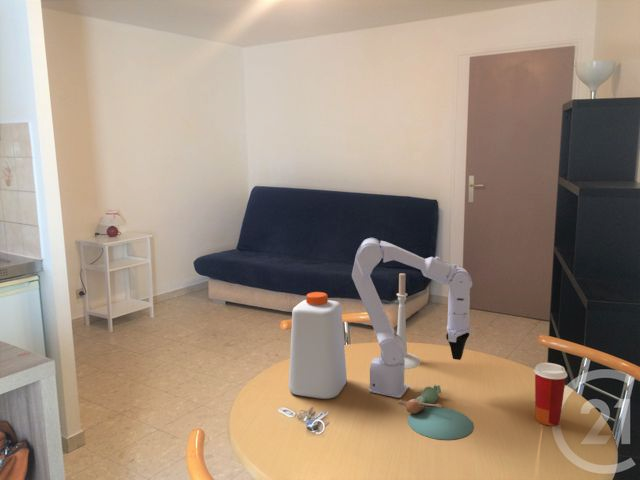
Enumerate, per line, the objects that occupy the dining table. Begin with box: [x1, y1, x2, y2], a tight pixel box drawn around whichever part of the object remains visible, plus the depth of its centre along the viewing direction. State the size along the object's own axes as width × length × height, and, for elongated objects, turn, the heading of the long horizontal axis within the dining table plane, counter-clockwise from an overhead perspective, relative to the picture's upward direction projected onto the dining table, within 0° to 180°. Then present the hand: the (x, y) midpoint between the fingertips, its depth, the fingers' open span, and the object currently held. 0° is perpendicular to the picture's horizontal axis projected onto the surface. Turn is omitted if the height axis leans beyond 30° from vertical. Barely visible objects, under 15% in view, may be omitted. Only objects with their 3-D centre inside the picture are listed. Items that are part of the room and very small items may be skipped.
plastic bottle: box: [288, 291, 348, 400], centre depth 151 cm, size 15×15×28 cm
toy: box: [397, 384, 443, 414], centre depth 140 cm, size 13×4×15 cm
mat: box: [407, 406, 474, 441], centre depth 132 cm, size 16×16×1 cm
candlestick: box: [395, 272, 422, 370], centre depth 168 cm, size 13×13×30 cm
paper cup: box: [532, 362, 568, 427], centre depth 132 cm, size 8×8×14 cm
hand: (457, 358), depth 146 cm, fingers closed
